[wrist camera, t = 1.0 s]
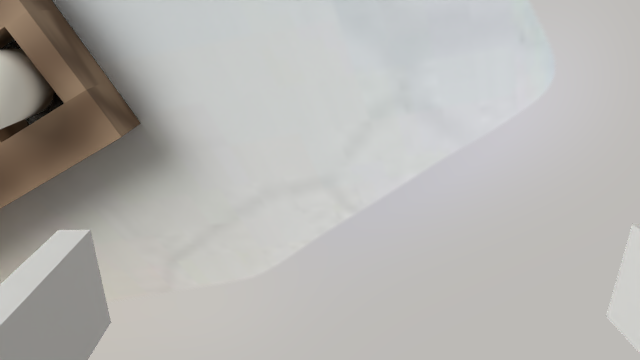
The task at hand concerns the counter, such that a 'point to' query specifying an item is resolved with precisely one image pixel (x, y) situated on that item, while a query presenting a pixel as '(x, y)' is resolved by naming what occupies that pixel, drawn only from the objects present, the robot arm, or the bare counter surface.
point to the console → (73, 89)
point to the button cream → (21, 87)
